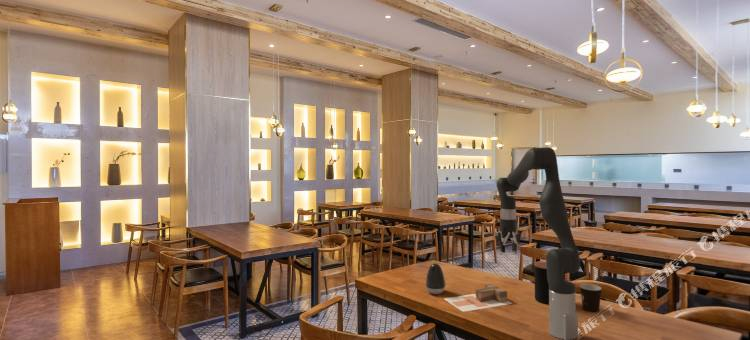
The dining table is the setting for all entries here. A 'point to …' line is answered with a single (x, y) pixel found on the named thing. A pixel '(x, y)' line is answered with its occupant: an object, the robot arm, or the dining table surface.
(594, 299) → the coffee mug
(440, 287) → the black egg-shaped piece
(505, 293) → the t block
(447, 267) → the dining table surface
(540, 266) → the coffee jar
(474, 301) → the mat
